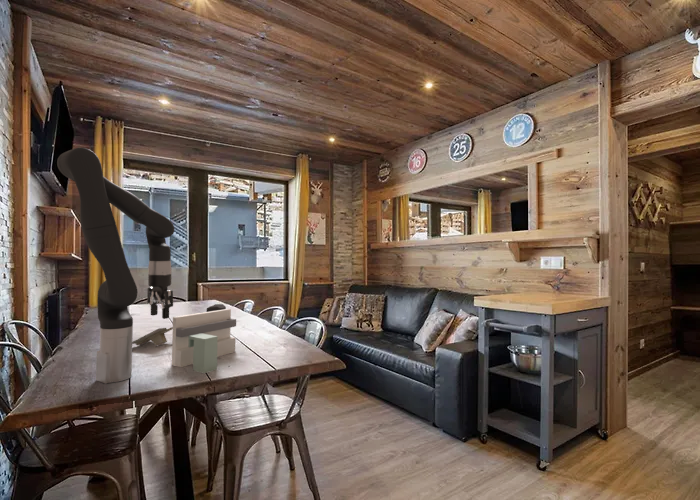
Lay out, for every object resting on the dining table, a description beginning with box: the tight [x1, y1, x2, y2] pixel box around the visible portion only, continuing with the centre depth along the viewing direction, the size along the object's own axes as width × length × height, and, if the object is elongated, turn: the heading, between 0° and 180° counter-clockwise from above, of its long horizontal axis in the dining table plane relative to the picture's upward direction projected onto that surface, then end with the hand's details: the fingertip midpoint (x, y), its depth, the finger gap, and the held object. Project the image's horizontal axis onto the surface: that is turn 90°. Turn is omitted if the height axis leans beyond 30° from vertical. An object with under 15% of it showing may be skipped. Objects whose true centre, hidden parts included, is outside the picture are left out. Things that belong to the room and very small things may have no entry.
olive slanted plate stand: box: [132, 326, 173, 347], centre depth 165 cm, size 16×9×15 cm
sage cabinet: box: [188, 333, 218, 374], centre depth 133 cm, size 6×9×12 cm, turn 60°
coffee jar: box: [206, 303, 227, 312], centre depth 169 cm, size 10×8×19 cm
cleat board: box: [171, 308, 237, 368], centre depth 147 cm, size 26×6×18 cm, turn 150°
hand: (159, 316), depth 135 cm, fingers open, 8 cm apart
